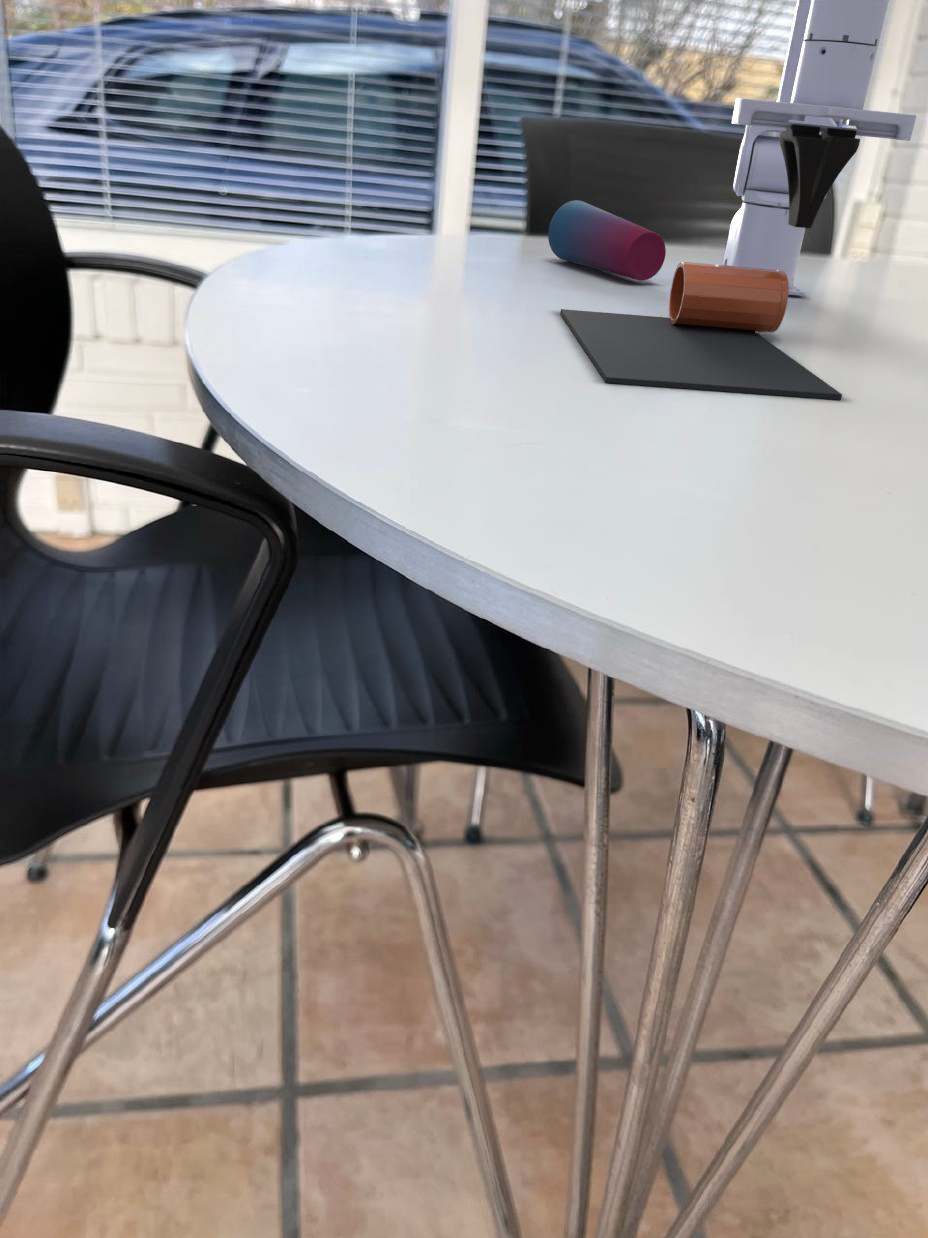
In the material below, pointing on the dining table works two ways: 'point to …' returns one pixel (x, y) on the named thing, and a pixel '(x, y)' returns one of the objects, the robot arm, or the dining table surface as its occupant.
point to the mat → (689, 356)
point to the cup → (605, 241)
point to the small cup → (728, 297)
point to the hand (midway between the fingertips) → (799, 226)
